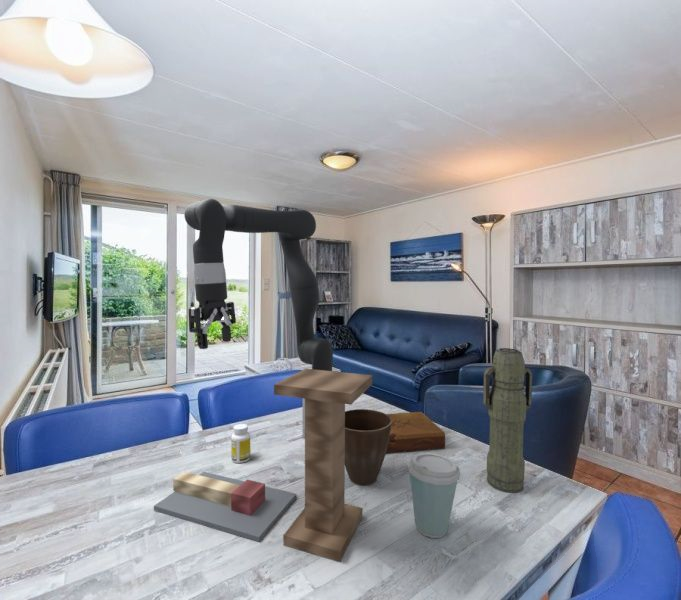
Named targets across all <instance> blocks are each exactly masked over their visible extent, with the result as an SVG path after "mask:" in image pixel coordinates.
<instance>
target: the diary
mask: <svg viewBox="0 0 681 600" xmlns="http://www.w3.org/2000/svg"><path fill="white" fill-rule="evenodd" d="M386 414H387V415H388V416H389V417H390V418H391V419H392V424H391V431H390V437H389V442H388V446H387V450H386V454H391V453H392V454H394V452H395V453H404V452H403V451H407V452H415V451H416V450H419V451H429V449H430V450H441V448H442V449H445V448H446V435H445V431H444V430H442V429H441V428H440V427H439V426H438V425H437V424H436V423H435V422H434V421H432V420H431V419H430V418H429V417H428V416H426V415H425V413H423V412H422V411H412V412H399V413H398V412H397V413H386Z"/></svg>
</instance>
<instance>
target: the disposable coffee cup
mask: <svg viewBox="0 0 681 600" xmlns="http://www.w3.org/2000/svg"><path fill="white" fill-rule="evenodd" d="M407 469H408V471H409V472H408V473H409V480H410V481H409V482H410V488H411V498H412V506H413V515H414V523H415V526H416V528H417V530H418V532H419V533H421V534H422V536H423V535H424V536H425V537H427V538H431V539H440V538H442V537H444V536H445V535H446V533H447V532H448V529H449V524H450V519H451V515H452V509H453V504H454V499H455V496H456V489H457V486H458V481H459V480H460V476H461V469H460V467H459V466H458V464H456V462H455V461H454V460H453V459H451V458H449V457H448V456H445V455H443V454H441V453H440V454H439V453H435V452H419V453H416V454H413V456H412V457H411V459H410V461H409V462H408V465H407Z"/></svg>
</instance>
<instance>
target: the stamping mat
mask: <svg viewBox="0 0 681 600" xmlns="http://www.w3.org/2000/svg"><path fill="white" fill-rule="evenodd" d="M198 475H200V476H204V477H209V478H213V479H217V480H221V481H225V482H229V483H233V484H237V485H241V484H242V483H244V482H245V481H246V480H241V479H236V478H232V477H228V476H224V475H220V474H215V473H210V472H207V471H202V472H201V473H200V474H198ZM296 499H297V493H294V492H292V491H287V490H283V489H278V488H274V487H269V486H266V485H265V501H264V502H263V503H262V504H261V505H260V506H259V507H258V508H257V509H256V510H255V511H254V512H253V513H252V514H251V515H250V516H249V515H246V514H242V513H238V512H235V511H231V506H228V505H224V504H220V503H217V502H213V501H209V500H206V499H202V498H198V497H194V496H191V495H187V494H183V493H180V492H176V491H173V492H172V493H170V494H169V495H167V496H166V497H165V498H163V499H161V500H160V501H158V502H157V503H155V504H154V505H153V511H156V512H159V513H163V514H165V515H169V516H172V517H175V518H179V519H182V520H185V521H187V522H188V521H189V522H192V523H195V524H199V525H202V526H206V527H209V528H212V529H214V530H215V529H216V530H218V531H221V532H225V533H228V534H231V535H234V536H237V537H241V538H245V539H248V540H251V541H255V542H258V543H259V542H261V540H262V539H263V538H264V536H266V535H267V533H268V532H269V531H270V530H271V528H272V527H273V526H274V525H275V524H276V522H277V521H278V520H279V519H280V518H281V517H282V515H283V514H284V513H285V512H286V511H287V509H288V508H289V507H290V506H291V505H292V503H294V501H295V500H296Z"/></svg>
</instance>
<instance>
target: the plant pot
mask: <svg viewBox="0 0 681 600" xmlns="http://www.w3.org/2000/svg"><path fill="white" fill-rule="evenodd" d="M387 414H388V413H385V412H382V411H379V410H374V409H360V408H359V409H349V410H345V471H346V473H347V475H348V478H349V479H350V481H351V482H352V483H353V484H356V485H360V486H368V485H372V484H373V483H375V482H377V479H378V478H379V475H380V472H381V469H382V467H383V463H384V460H385V457H386V454H387V453H386V450H387V446H388V442H389V437H390V431H391V424H392V419H391V418H390V417H389V416H388V415H387Z"/></svg>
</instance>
